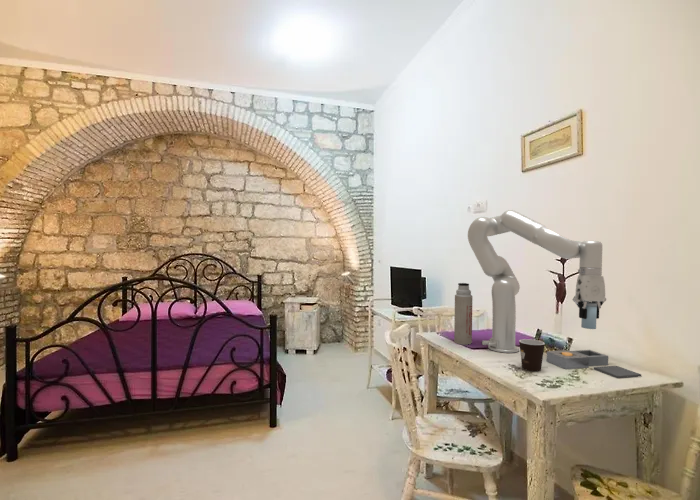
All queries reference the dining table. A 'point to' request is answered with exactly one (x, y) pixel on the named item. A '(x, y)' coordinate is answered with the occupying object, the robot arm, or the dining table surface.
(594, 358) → the gray square tray
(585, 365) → the block
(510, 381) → the dining table surface
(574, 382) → the dining table surface
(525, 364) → the coffee mug
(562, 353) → the plunger button
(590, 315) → the cylinder
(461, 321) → the thermos bottle
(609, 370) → the rubber mat
